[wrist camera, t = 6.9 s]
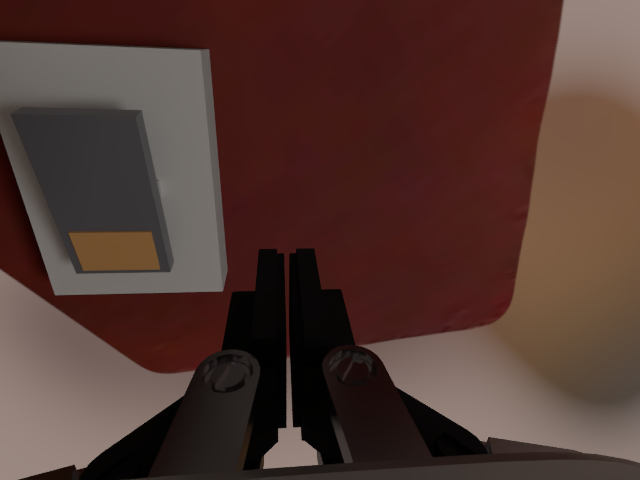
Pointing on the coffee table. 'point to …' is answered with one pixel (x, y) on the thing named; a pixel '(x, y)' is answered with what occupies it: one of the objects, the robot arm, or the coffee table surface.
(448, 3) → the coffee table surface
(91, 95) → the switch box
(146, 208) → the rocker switch
